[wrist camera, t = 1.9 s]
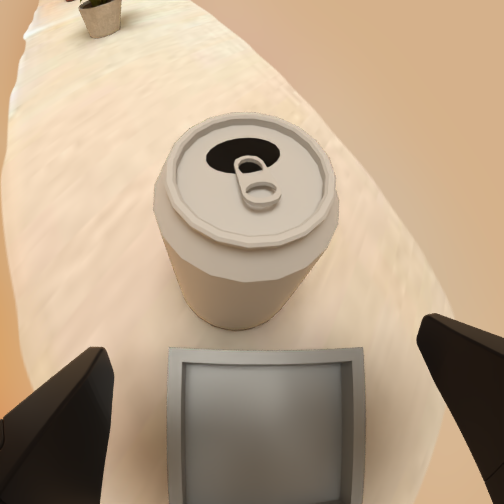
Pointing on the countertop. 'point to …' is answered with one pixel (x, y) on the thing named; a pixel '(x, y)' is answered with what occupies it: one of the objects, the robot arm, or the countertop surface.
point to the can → (244, 214)
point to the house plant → (101, 16)
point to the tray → (266, 426)
